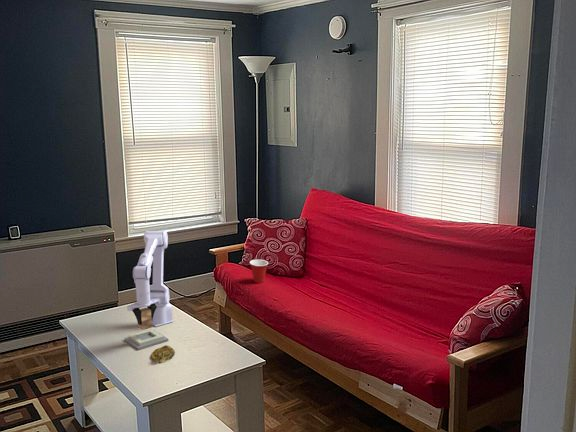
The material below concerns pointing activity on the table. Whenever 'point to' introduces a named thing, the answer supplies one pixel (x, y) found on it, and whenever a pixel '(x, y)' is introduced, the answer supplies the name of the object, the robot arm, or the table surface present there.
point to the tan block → (145, 319)
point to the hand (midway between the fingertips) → (145, 322)
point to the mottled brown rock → (162, 354)
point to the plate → (145, 339)
